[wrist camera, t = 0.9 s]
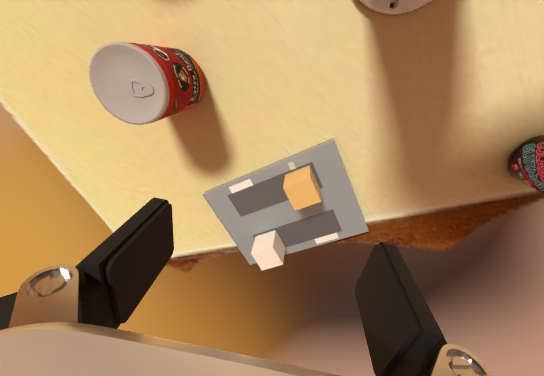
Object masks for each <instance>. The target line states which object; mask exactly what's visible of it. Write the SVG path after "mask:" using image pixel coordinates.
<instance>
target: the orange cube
mask: <svg viewBox="0 0 544 376" xmlns="http://www.w3.org/2000/svg"><path fill="white" fill-rule="evenodd" d="M283 189H284V191H285V193H286V195H287V197H288V199H289V201H290V203H291V204H292V206H293V208H294V210H295V211H296V210H299V209H302V208H304V207H307V206H310V205H313V204H316V203H319V202H321V195H320V188H319V185H318V183H317V181H316V178H315V176H314V174H313V172H312V169H311V167H310V165H309V166H306V167H304V168H301V169H299V170H296V171H293V172H291V173H288V174H286V175H285V179H284V185H283Z"/></svg>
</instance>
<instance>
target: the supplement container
mask: <svg viewBox="0 0 544 376" xmlns="http://www.w3.org/2000/svg"><path fill="white" fill-rule="evenodd" d="M508 170H509V172H510V174H511V175H512V176H513V177H514V178H515V179H517V180H519V181H521V182H523V183H525V184H526V185H528V186H530V187H532V188H534V189H536V190H537V191H539V192H541V193H543V194H544V135H542V136H538V137H534V138H532V139H529V140H527V141H526V142H524V143H523V144H521V145H520V146H519V147H517V148H516V149H515V150H514V152H513V153H512V155H511V156H510V158H509V161H508Z"/></svg>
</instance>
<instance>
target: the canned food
mask: <svg viewBox="0 0 544 376" xmlns="http://www.w3.org/2000/svg"><path fill="white" fill-rule="evenodd" d="M89 76H90V82H91V85H92V88H93V91H94V93H95V95H96V97H97V98H98V100H99V101H100V103H101V104H102V105H103V106H104V107H105V109H106V110H107V111H108V112H110V113H111V114H112V115H113V116H115V117H116V118H118V119H120V120H122V121H124V122H127V123H130V124H135V125H143V124H148V123H152V122H155V121H158V120H160V119H163V118H165V117H168V116H170V115H173V114H175V113H178V112H180V111H183V110H185V109H188V108H190V107H192V106H194V105H195V104H197V103H198V101H199V100H200V99H201V97H202V94H203V91H204V76H203V73H202V71H201V69H200V67H199V65H198V64H197V63H196V61H195V60H194V59H193V58H192V57H191V56H190V55H188V54H187V53H185V52H183V51H181V50H179V49H174V48H167V47H160V46H152V45H144V44H136V43H126V42H115V43H109V44H105V45H103V46H102V47H100V48H99V49H98V50H97V51H96V52H95V53H94V55H93V57H92V59H91V62H90V66H89Z"/></svg>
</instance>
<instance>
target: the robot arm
mask: <svg viewBox="0 0 544 376" xmlns="http://www.w3.org/2000/svg"><path fill="white" fill-rule="evenodd" d="M359 1H360V2H362V3H363V4H364V5H365V6H366V7H368V8H369V9H371V10H373V11H375V12H378V13H383V14H402V13H406V12H410V11H412V10H415V9H417V8H420V7H421V6H423V5H425V4H427V3H429V2H430V1H432V0H359ZM390 3H393V8H390ZM173 250H174V242H173V222H172V205H171V204H169V203H168V201H167V200H164V199H159V198H153V199H151V200H150V201H149V202H148V203H147V204H146V205H144V206H143V207H142V208H141V209H140V210H139V211H138V212H137V213H135V214H134V215H133V216H132V217H131V218H130V219H129V220H127V221H126V222H125V223H124V224H123V225H122V226H121V227H120V228H118V229H117V230H116V231H115V232H114V233H113V234H112V235H111V236H109V237H108V238H107V239H106V240H105V241H104V242H102V243H101V244H100V245H99V246H98V247H97V248H96V249H95V250H93V251H92V252H91V253H90V254H89V255H88V256H87V257H85V258H84V259H83V260H82V261H81V262H80V263H79V264H78V265H77V266H76V267H73V266H70V265H56V266H51V267H48V268H45V269H42V270H40V271H38V272H36V273H34V274H33V275H31V276H30V277H28V278H27V279H26V280H25V281H24V282H23V283H22V284H21V286H20V288H19V290H18V292H16V293H13V294H10V295H7V296H4V297H0V376H340V375H335V374H330V373H326V372H321V371H317V370H312V369H307V368H303V367H298V366H293V365H289V364H284V363H280V362H275V361H270V360H265V359H260V358H256V357H251V356H246V355H242V354H237V353H232V352H228V351H223V350H218V349H213V348H209V347H204V346H199V345H194V344H189V343H184V342H179V341H174V340H170V339H165V338H160V337H155V336H150V335H145V334H140V333H135V332H130V331H124V330H119V329H117V328H118V327H119V325H120V324H121V323H125V322H126V321H127V320H128V319H129V317H130V316H131V314H132V313H133V311H134V309H135V308H136V307H137V305H138V304H139V303H140V301H141V299H142V298H143V297H144V295H145V294H146V292H147V291H148V289H149V288H150V287H151V285H152V284H153V282H154V281H155V279H156V277H157V276H158V275H159V273H160V272H161V270H162V269H163V268H164V266H165V265H166V263H167V262H168V260H169V259H170V257H171V256H172V254H173ZM355 294H356V298H357V302H358V306H359V311H360V315H361V319H362V323H363V328H364V332H365V336H366V340H367V344H368V348H369V352H370V357H371V361H372V365H373V369H374V373H375V375H376V376H492V375H491V373H490V372H489V370H488V369H487V368H486V366H485V365H484V364H483V363H482V362H481V361H480V360H479V359H478V358H477V357H476V356H475V355H473V354H472V353H471V352H469V351H468V350H466V349H465V348H463V347H460V346H458V345H455V344H447V342H446V340H445V339H444V337H443V334H442V332H441V330H440V328H439V326H438V324H437V323H436V320H435V319H434V317H433V315H432V313H431V311H430V309H429V307H428V305H427V304H426V302H425V300H424V298H423V296H422V294H421V292H420V290H419V288H418V286H417V285H416V283H415V281H414V279H413V277H412V275H411V273H410V271H409V270H408V268H407V266H406V264H405V262H404V260H403V258H402V257H401V254H400V253H399V251H398V249H397V247H396V246H395V245H393V244H388V243H383V242H380V243H379V245H375V246H374V248H373V250H372V252H371V254H370V257H369V259H368V261H367V263H366V265H365V267H364V269H363V271H362V274H361V276H360V278H359V280H358V282H357V284H356V288H355Z"/></svg>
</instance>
